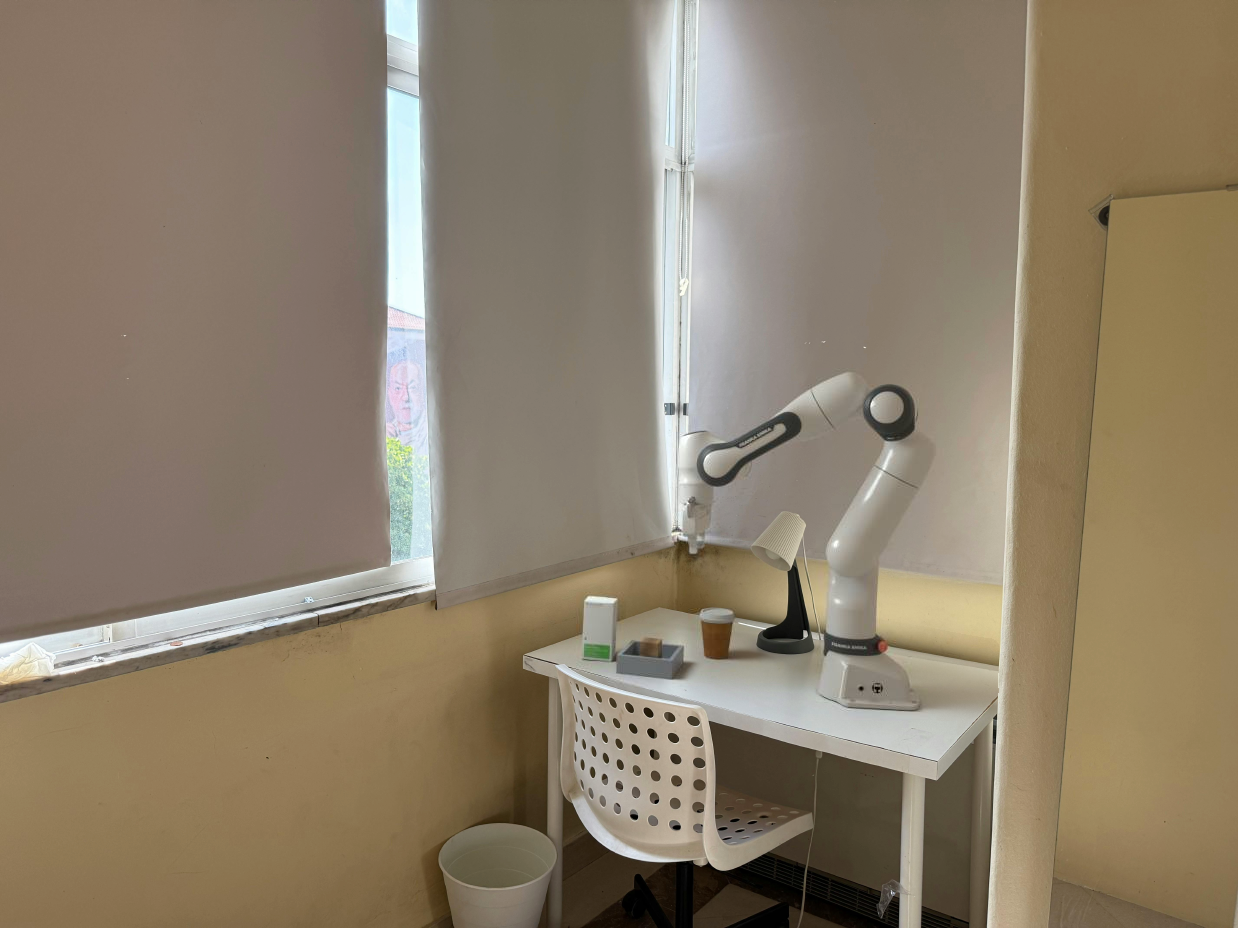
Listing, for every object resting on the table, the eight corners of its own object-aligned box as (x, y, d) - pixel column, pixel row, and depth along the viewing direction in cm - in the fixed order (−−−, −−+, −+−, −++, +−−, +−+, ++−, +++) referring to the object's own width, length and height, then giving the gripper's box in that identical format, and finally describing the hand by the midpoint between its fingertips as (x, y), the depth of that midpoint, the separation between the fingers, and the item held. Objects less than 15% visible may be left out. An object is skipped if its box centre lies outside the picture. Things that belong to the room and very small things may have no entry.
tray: (683, 662, 197) (683, 645, 197) (671, 679, 183) (672, 660, 183) (631, 656, 201) (631, 640, 201) (616, 672, 187) (616, 654, 187)
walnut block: (661, 662, 194) (662, 638, 193) (657, 667, 189) (657, 643, 189) (644, 660, 195) (645, 637, 195) (639, 665, 191) (640, 641, 190)
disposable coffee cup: (718, 648, 210) (719, 605, 210) (741, 657, 202) (742, 613, 201) (690, 653, 205) (692, 609, 204) (713, 663, 197) (714, 617, 196)
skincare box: (581, 659, 198) (582, 600, 197) (586, 652, 204) (587, 595, 203) (612, 661, 196) (614, 602, 196) (617, 654, 203) (618, 596, 202)
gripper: (701, 498, 179) (702, 557, 180) (714, 492, 199) (715, 545, 199) (675, 498, 181) (676, 556, 182) (691, 493, 201) (692, 544, 201)
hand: (697, 550), depth 191 cm, fingers open, 8 cm apart
